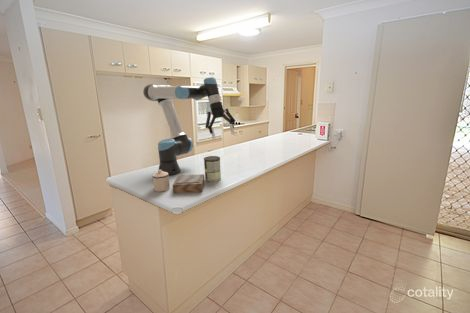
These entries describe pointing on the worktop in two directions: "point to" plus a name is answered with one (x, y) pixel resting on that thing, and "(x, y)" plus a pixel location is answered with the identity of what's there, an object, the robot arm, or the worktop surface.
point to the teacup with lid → (161, 181)
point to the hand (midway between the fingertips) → (223, 136)
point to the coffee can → (212, 168)
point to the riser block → (188, 183)
